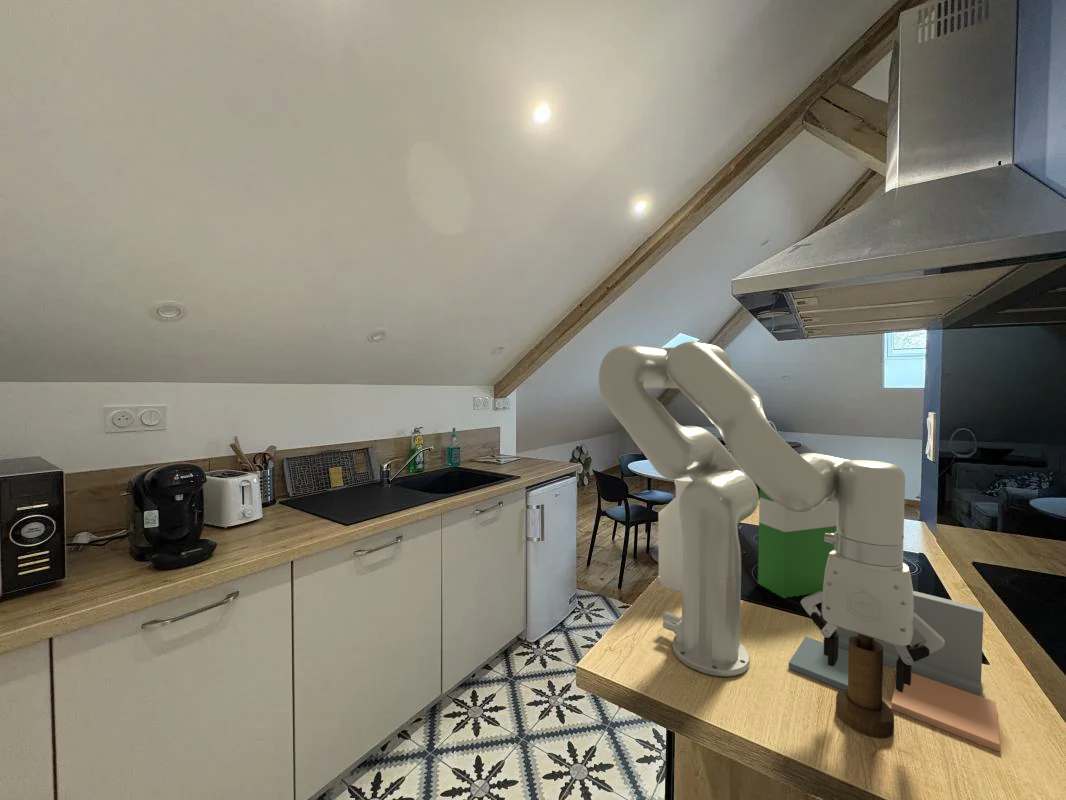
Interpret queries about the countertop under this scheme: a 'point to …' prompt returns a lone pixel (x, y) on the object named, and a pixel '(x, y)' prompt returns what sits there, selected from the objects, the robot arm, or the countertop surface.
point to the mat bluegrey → (820, 663)
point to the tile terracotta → (949, 710)
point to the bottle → (671, 541)
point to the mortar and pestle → (865, 690)
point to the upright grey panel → (961, 645)
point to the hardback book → (794, 547)
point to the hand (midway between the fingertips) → (865, 673)
